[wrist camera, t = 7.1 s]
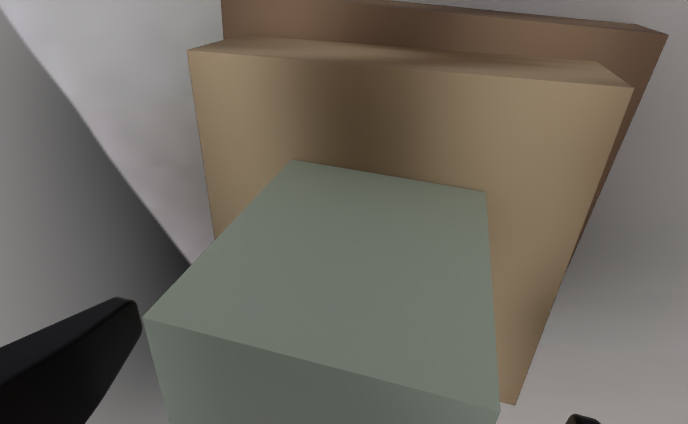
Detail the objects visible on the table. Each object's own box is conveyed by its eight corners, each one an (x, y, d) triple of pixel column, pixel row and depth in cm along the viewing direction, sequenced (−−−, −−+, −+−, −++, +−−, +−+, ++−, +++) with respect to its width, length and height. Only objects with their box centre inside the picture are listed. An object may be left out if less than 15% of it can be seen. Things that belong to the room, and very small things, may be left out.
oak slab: (596, 61, 11) (634, 87, 8) (508, 336, 16) (515, 405, 13) (242, 34, 13) (186, 49, 10) (263, 286, 18) (229, 337, 15)
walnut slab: (629, 22, 13) (668, 34, 10) (517, 312, 19) (525, 365, 16) (262, -14, 15) (220, -11, 12) (269, 256, 21) (242, 295, 19)
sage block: (486, 192, 10) (500, 410, 5) (447, 336, 13) (431, 577, 8) (291, 159, 11) (141, 317, 6) (291, 300, 14) (187, 493, 9)
